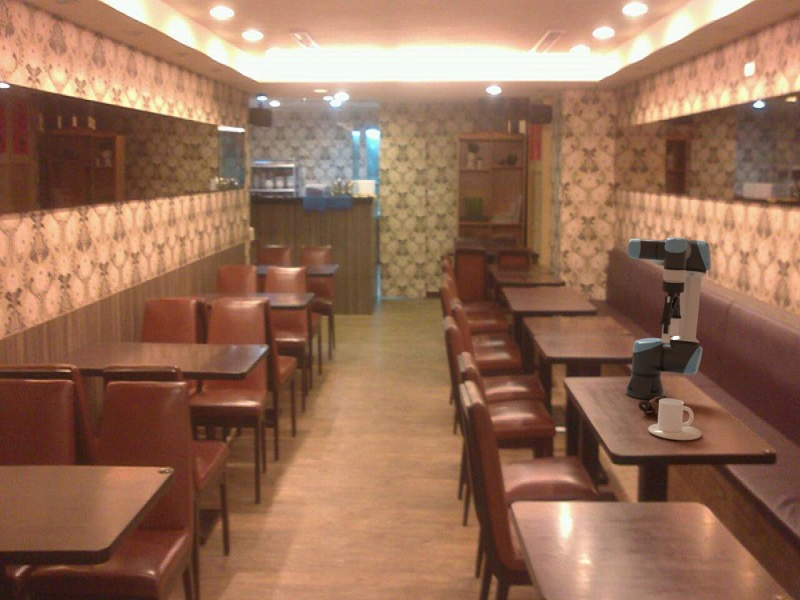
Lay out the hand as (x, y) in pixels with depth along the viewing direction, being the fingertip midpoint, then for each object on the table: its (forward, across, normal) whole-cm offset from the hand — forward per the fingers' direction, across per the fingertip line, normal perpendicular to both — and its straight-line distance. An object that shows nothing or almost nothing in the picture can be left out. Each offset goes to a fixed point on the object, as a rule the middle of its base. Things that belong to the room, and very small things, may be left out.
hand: (669, 339), depth 334 cm
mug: (+31, +9, +6) cm, 33 cm away
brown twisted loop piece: (+32, -9, -6) cm, 34 cm away
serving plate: (+32, +10, +6) cm, 34 cm away
